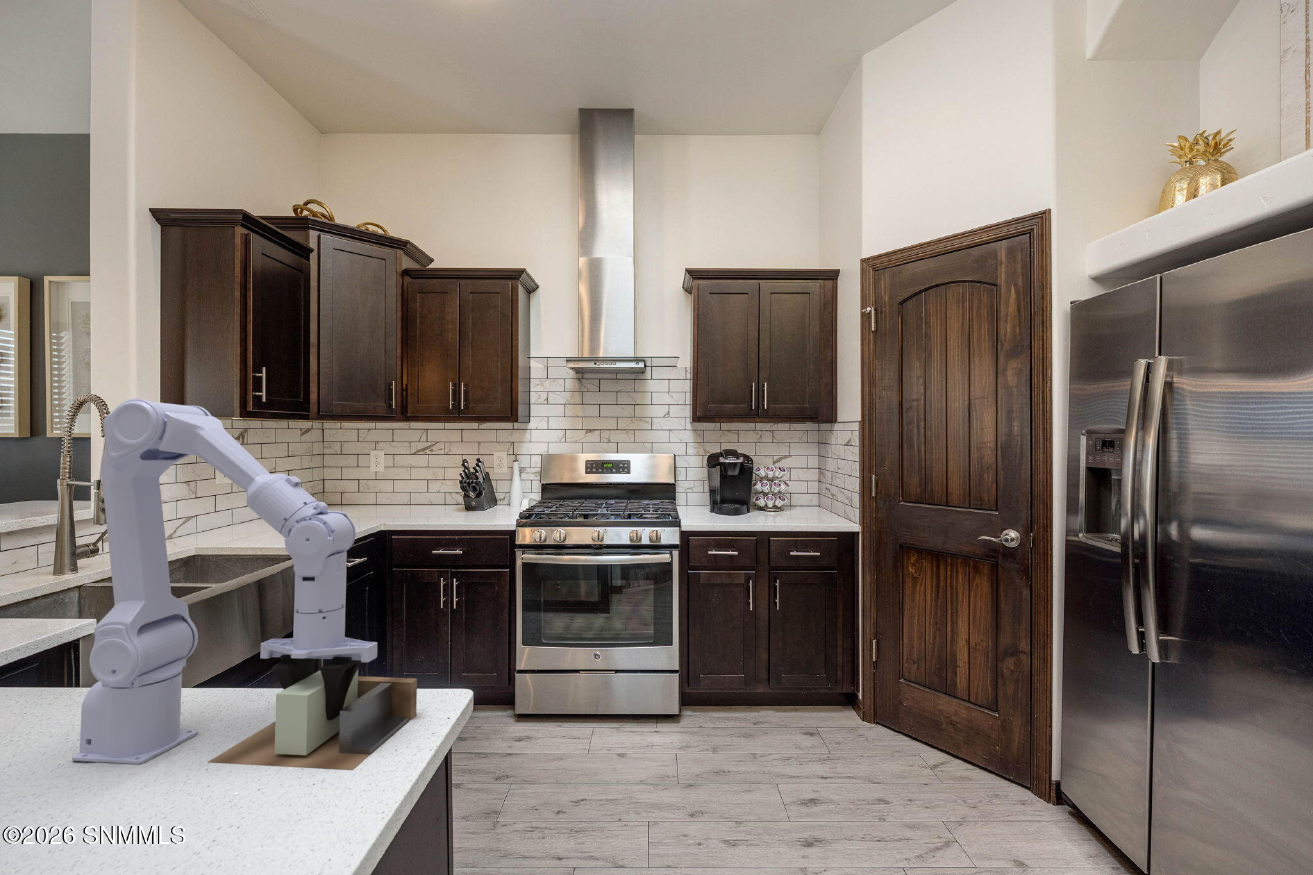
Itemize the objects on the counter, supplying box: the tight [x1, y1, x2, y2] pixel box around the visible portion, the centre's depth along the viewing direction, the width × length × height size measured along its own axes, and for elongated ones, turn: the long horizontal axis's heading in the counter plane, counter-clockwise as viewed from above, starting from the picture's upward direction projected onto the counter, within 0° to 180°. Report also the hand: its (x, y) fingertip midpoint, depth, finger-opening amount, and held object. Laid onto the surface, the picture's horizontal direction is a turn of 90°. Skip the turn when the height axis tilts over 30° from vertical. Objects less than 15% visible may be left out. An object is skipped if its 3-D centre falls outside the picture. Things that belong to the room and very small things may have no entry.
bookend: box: [339, 683, 409, 756], centre depth 75 cm, size 4×9×5 cm, turn 175°
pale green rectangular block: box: [274, 669, 359, 755], centre depth 74 cm, size 10×4×7 cm, turn 175°
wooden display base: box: [207, 673, 418, 771], centre depth 75 cm, size 18×14×6 cm
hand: (317, 715), depth 74 cm, fingers closed on pale green rectangular block, 4 cm apart
